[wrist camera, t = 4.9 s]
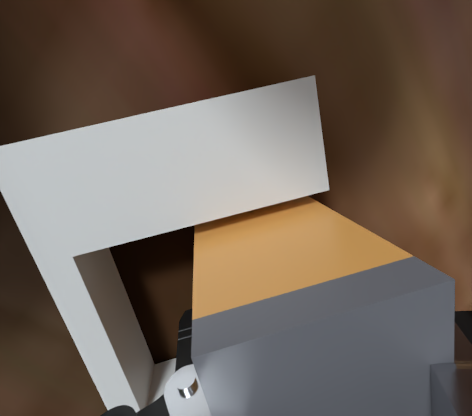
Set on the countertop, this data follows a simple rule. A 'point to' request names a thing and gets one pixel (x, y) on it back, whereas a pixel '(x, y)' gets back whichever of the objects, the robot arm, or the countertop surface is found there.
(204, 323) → the orange grey block
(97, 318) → the bay
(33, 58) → the countertop surface
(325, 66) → the countertop surface
